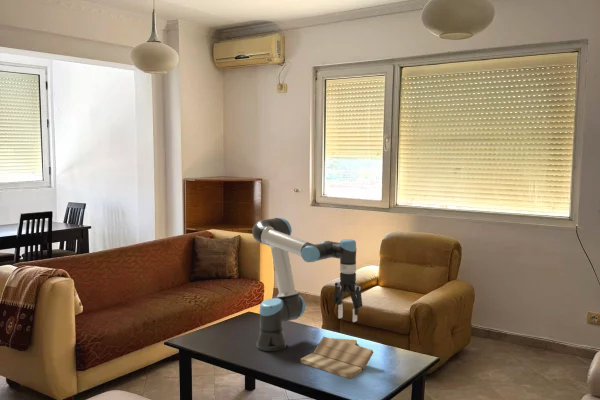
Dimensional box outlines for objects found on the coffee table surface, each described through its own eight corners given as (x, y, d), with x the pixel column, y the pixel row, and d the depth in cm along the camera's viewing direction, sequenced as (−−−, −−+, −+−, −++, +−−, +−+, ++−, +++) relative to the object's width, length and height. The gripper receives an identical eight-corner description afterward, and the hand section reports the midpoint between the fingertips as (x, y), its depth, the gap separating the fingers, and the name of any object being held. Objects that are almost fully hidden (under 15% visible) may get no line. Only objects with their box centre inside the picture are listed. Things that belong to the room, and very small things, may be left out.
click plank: (314, 355, 255) (313, 352, 254) (324, 339, 261) (323, 336, 260) (363, 370, 237) (362, 367, 236) (373, 352, 243) (372, 349, 242)
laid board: (300, 362, 246) (300, 358, 246) (312, 356, 254) (312, 352, 254) (350, 378, 229) (350, 374, 229) (362, 371, 236) (362, 367, 236)
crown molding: (354, 354, 258) (354, 347, 258) (324, 352, 261) (324, 345, 261) (356, 344, 272) (356, 338, 271) (328, 342, 275) (329, 336, 274)
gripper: (325, 270, 252) (325, 317, 254) (362, 276, 239) (361, 325, 241) (334, 267, 257) (334, 313, 259) (370, 274, 244) (370, 321, 246)
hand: (347, 319), depth 250 cm, fingers open, 8 cm apart
